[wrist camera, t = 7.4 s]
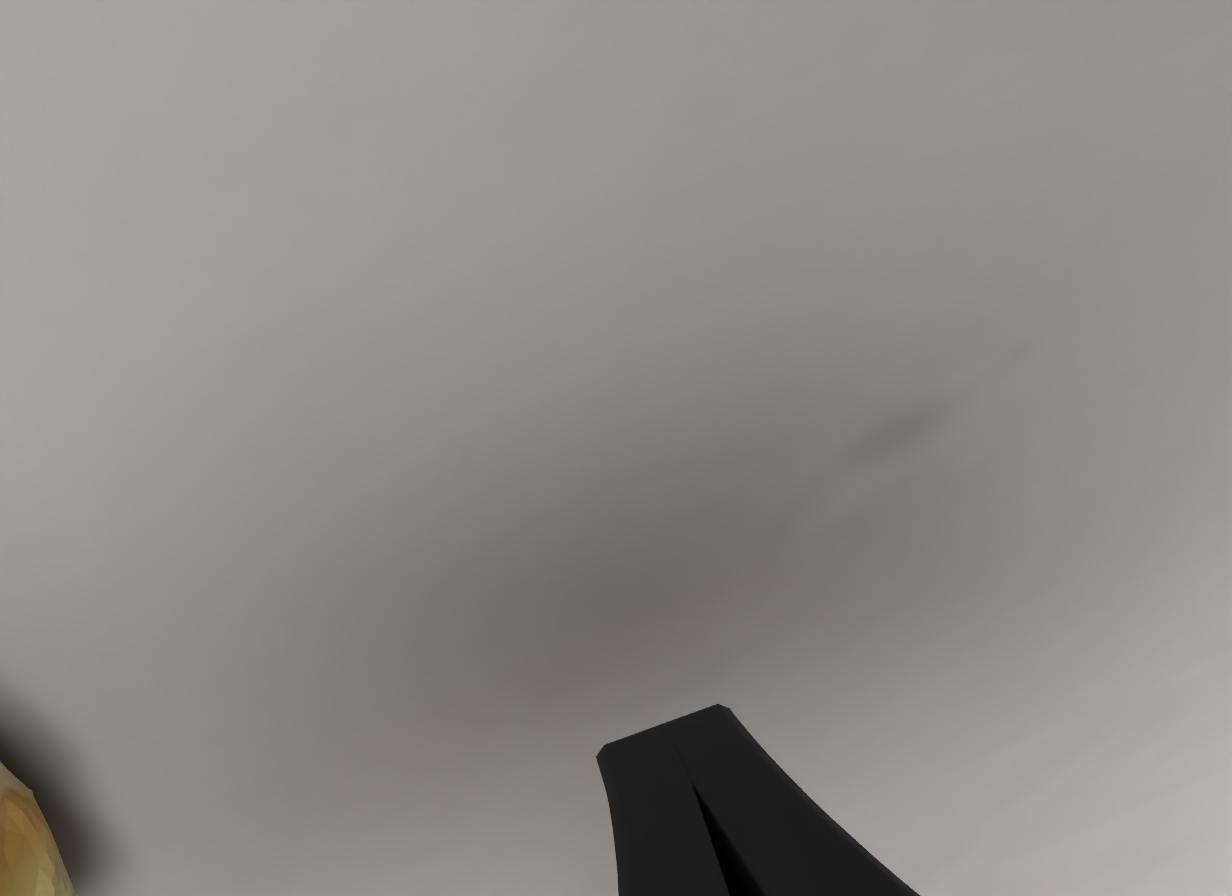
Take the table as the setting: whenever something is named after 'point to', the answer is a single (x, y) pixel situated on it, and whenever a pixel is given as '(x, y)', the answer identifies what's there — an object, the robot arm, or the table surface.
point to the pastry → (27, 845)
